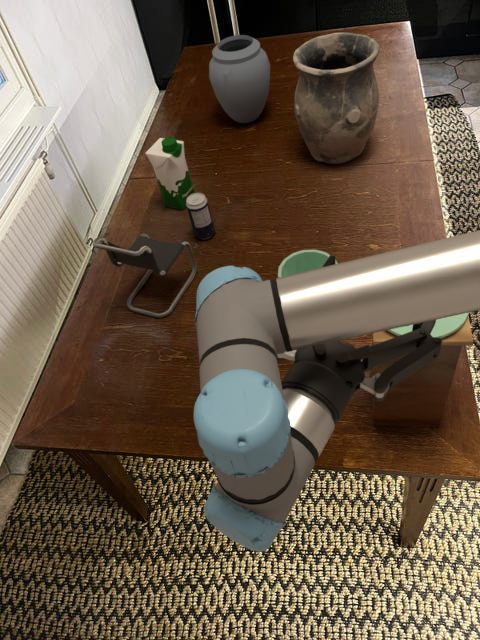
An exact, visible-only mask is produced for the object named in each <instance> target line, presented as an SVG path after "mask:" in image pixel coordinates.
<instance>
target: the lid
mask: <svg viewBox="0 0 480 640" xmlns="http://www.w3.org/2000/svg"><path fill="white" fill-rule="evenodd" d="M467 317H469V313H464V314H459V315H455V316H450V317H446V318H441V319H436V323H435V325H434V328H433V330H432V332H431V334H430V335H431V336H432V337H437V338H443V337H445V336H448V335H450V334H452V333H454V332H455V331H456V330H458V329H459V328H460V327H461V326H462V325H463V324H464V322H465V321H466V319H467ZM412 329H413V325H409V326H404V327H399V328H395V329H390V330H388V331H389V332H391V333H393V334H395V335H397V336H400V335H403V334H406V333H408V332H411V331H412Z"/></svg>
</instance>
